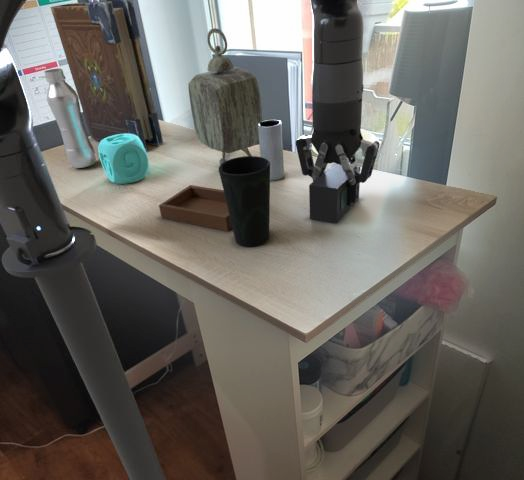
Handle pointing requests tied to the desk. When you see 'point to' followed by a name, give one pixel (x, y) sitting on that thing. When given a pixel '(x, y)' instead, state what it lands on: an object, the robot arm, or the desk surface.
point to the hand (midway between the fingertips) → (335, 201)
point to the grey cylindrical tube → (272, 146)
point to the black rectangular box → (329, 195)
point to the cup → (247, 198)
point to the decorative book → (108, 68)
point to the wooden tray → (198, 208)
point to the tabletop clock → (225, 104)
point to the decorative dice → (123, 158)
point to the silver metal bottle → (69, 120)
